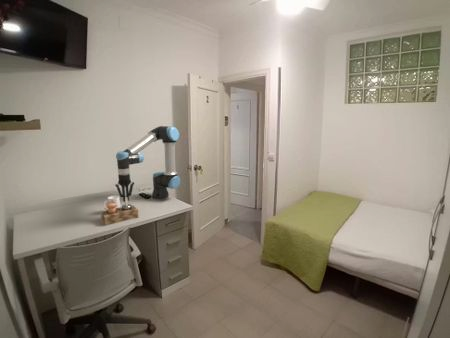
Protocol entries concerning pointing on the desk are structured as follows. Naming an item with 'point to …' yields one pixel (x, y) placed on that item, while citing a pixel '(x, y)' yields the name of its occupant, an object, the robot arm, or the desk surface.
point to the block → (119, 215)
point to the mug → (113, 199)
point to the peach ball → (111, 207)
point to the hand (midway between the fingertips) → (126, 205)
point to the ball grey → (126, 207)
